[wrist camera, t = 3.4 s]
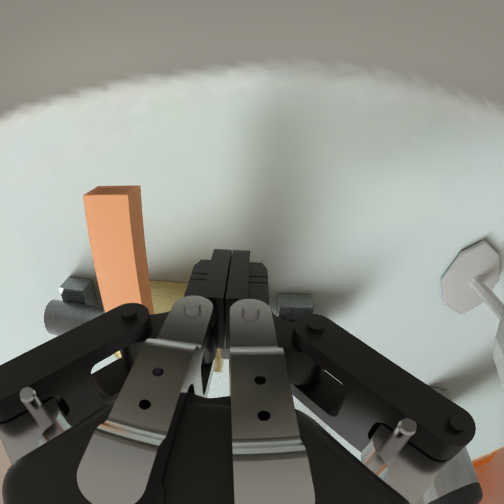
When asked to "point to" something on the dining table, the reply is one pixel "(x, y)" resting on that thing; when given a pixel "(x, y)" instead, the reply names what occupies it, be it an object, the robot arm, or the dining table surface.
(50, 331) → the valve
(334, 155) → the dining table surface
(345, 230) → the dining table surface
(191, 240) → the dining table surface
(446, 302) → the wineglass
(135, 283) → the lever
